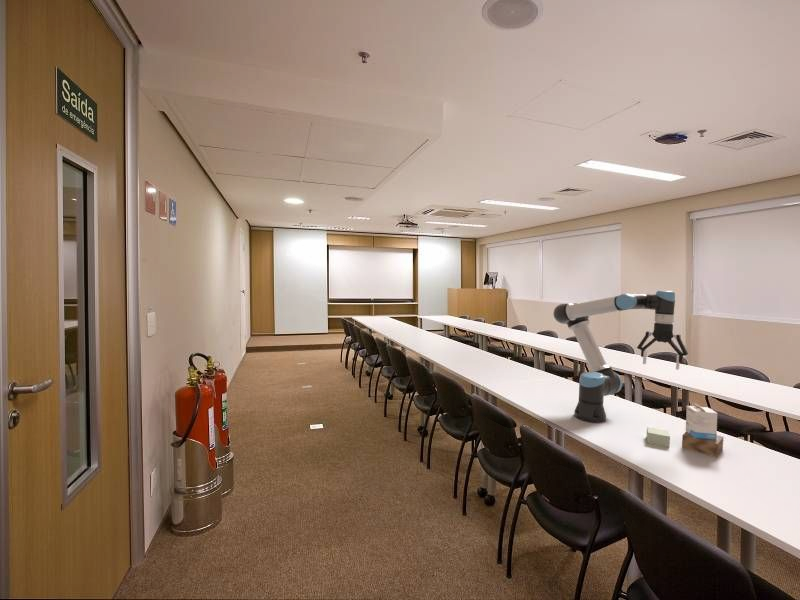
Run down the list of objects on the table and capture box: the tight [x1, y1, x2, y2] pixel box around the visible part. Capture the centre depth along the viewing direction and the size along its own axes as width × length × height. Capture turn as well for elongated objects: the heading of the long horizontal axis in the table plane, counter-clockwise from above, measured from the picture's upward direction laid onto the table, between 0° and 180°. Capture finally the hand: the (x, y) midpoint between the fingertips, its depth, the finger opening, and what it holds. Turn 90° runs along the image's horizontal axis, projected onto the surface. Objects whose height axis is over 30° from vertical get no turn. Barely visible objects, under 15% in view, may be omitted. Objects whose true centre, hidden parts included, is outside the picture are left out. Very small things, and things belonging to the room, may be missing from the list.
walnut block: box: [681, 431, 724, 458], centre depth 167 cm, size 12×12×6 cm
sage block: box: [646, 426, 671, 448], centre depth 172 cm, size 8×8×5 cm
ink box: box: [684, 402, 718, 440], centre depth 167 cm, size 9×8×13 cm
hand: (660, 366), depth 185 cm, fingers open, 13 cm apart
